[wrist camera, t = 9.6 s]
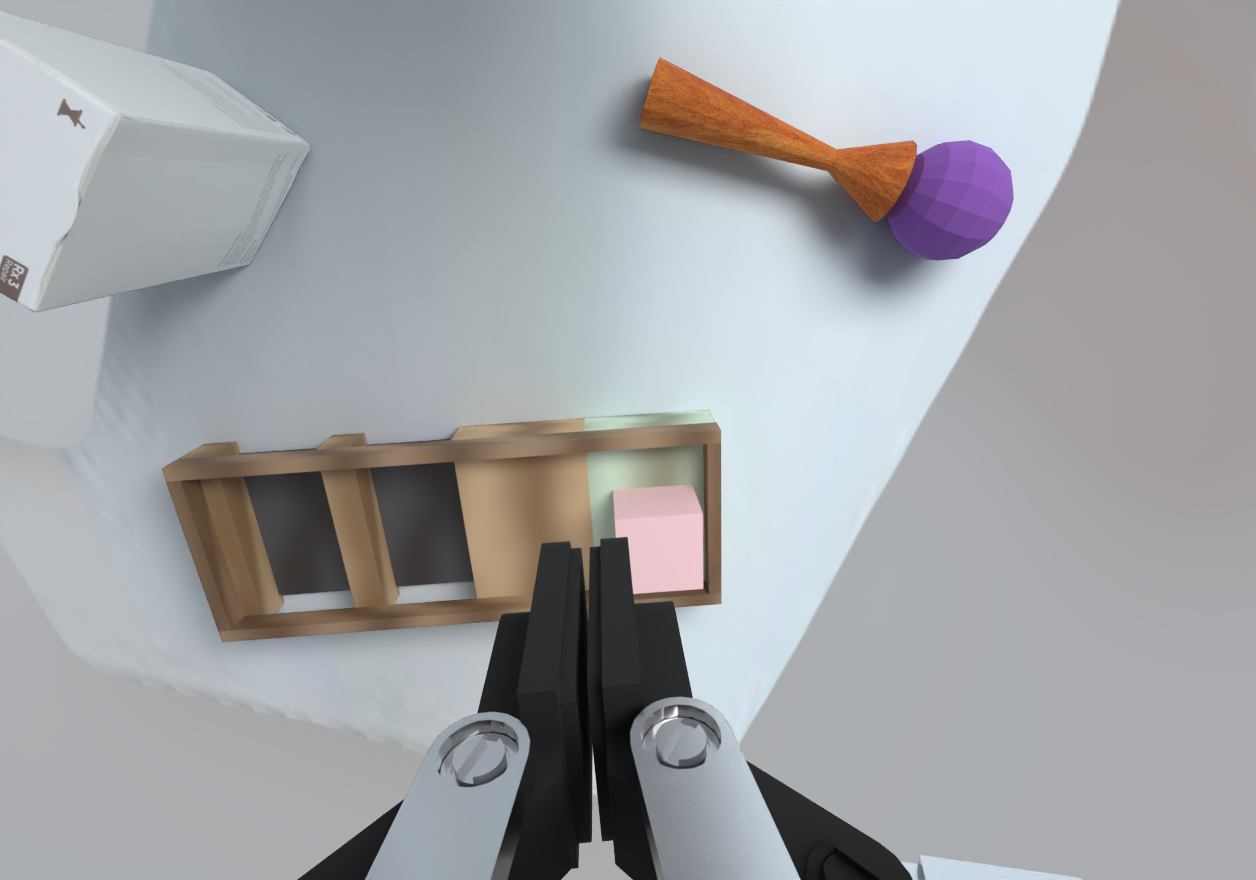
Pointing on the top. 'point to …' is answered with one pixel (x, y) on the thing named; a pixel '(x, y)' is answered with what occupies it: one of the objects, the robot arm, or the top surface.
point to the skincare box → (126, 168)
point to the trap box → (428, 517)
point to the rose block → (661, 537)
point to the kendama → (852, 165)
